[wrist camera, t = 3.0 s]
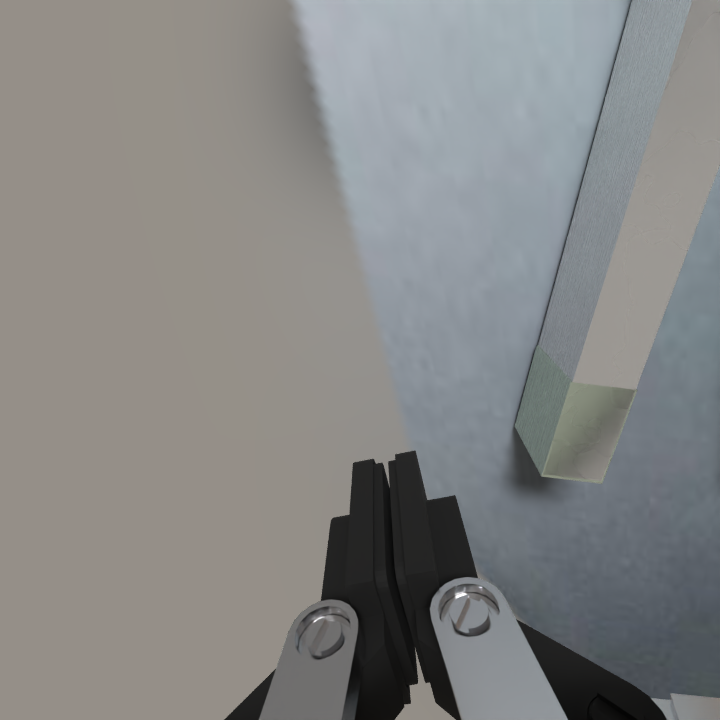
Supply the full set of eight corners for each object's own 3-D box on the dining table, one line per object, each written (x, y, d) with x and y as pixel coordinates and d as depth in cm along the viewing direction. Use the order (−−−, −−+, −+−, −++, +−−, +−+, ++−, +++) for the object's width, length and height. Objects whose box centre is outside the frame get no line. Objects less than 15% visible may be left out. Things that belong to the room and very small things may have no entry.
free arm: (846, -220, 11) (1022, -371, 8) (607, 437, 19) (652, 489, 16) (695, -238, 11) (813, -396, 8) (514, 426, 19) (541, 476, 16)
